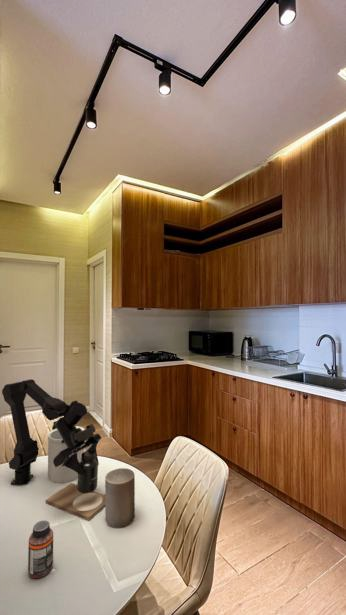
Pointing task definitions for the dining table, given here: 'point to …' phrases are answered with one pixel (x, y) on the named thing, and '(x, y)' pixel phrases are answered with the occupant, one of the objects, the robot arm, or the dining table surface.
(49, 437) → the utensil holder
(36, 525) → the supplement bottle
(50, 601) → the dining table surface
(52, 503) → the board
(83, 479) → the supplement bottle
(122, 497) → the pillar candle
